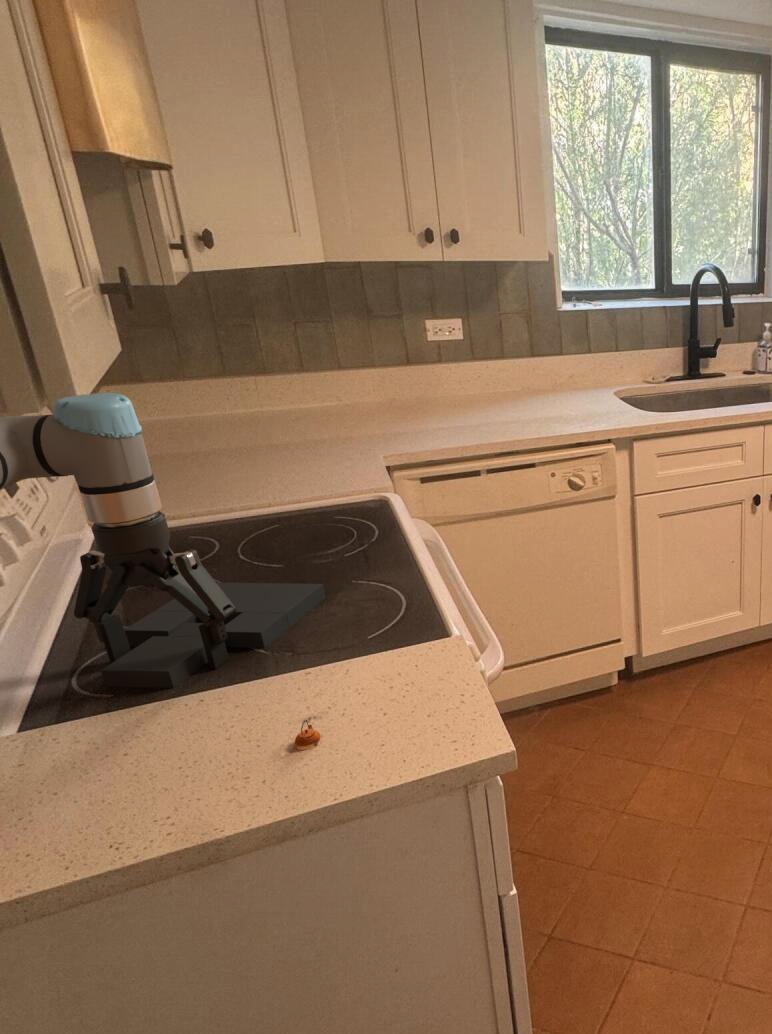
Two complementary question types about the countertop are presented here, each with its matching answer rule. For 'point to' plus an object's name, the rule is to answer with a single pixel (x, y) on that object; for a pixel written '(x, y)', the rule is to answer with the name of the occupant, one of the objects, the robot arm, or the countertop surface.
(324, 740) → the countertop surface
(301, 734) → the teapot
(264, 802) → the countertop surface
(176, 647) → the pad
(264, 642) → the notch pad
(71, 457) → the robot arm
